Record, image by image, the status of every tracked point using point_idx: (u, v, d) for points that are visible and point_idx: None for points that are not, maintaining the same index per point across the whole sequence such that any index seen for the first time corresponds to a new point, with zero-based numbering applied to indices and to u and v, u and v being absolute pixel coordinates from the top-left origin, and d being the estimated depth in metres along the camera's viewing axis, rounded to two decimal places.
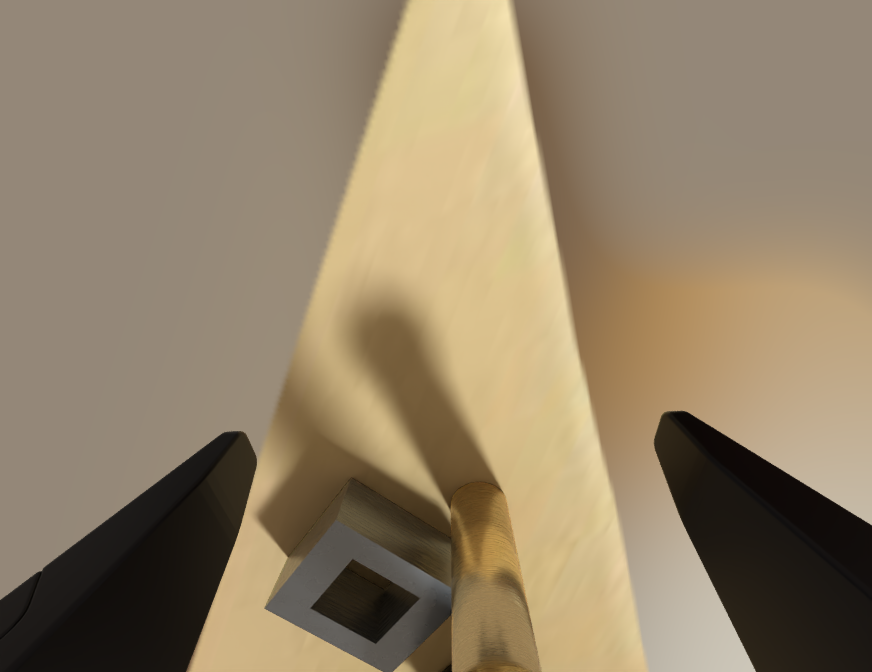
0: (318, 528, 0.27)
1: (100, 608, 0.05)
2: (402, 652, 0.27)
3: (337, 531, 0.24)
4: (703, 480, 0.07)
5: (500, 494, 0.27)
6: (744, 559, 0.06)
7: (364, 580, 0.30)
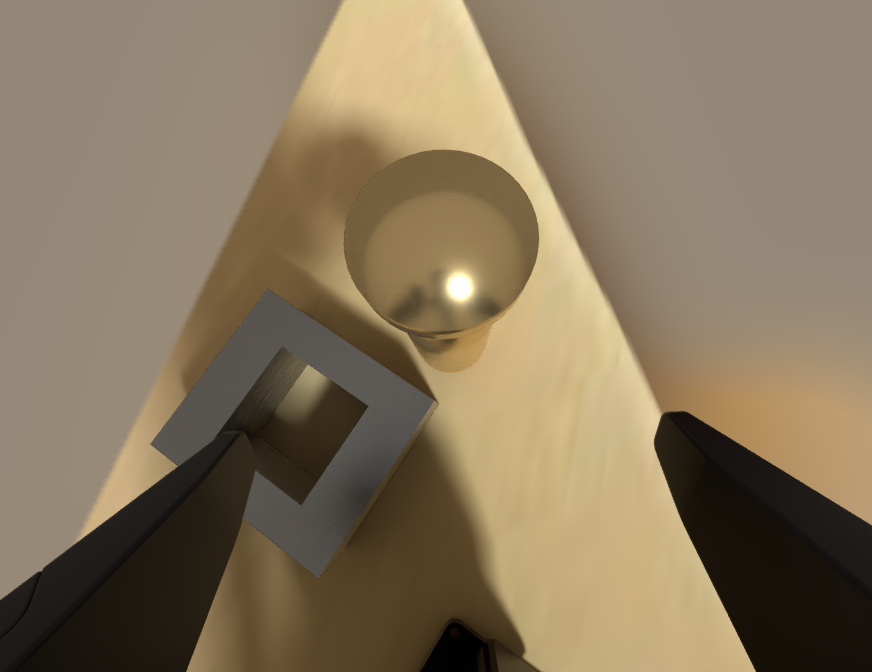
0: None
1: (100, 608, 0.05)
2: (340, 521, 0.17)
3: (267, 305, 0.20)
4: (703, 480, 0.07)
5: None
6: (744, 559, 0.06)
7: (302, 470, 0.22)
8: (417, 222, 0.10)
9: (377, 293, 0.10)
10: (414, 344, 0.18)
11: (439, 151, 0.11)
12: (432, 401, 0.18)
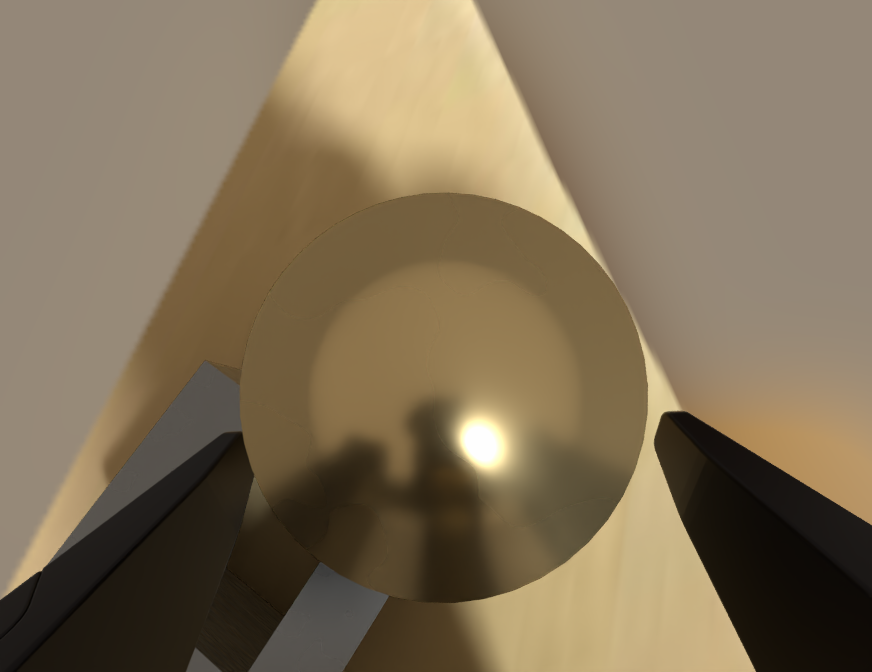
0: None
1: (100, 608, 0.05)
2: None
3: (203, 383, 0.14)
4: (703, 480, 0.07)
5: None
6: (744, 559, 0.06)
7: (256, 595, 0.16)
8: (391, 344, 0.05)
9: (303, 504, 0.05)
10: None
11: (438, 196, 0.05)
12: None
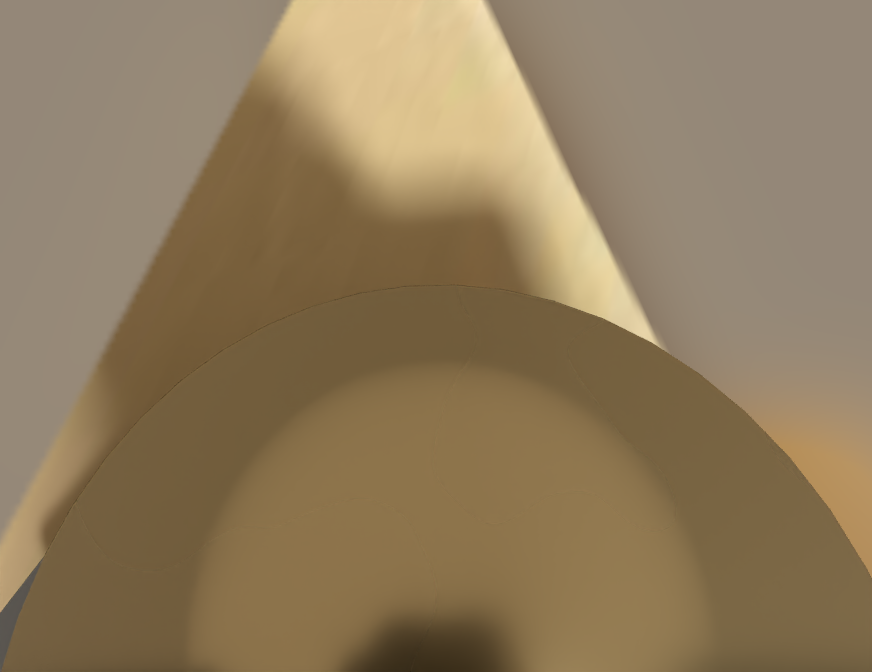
0: None
1: None
2: None
3: None
4: None
5: None
6: None
7: None
8: (327, 644, 0.02)
9: None
10: None
11: (433, 291, 0.03)
12: None
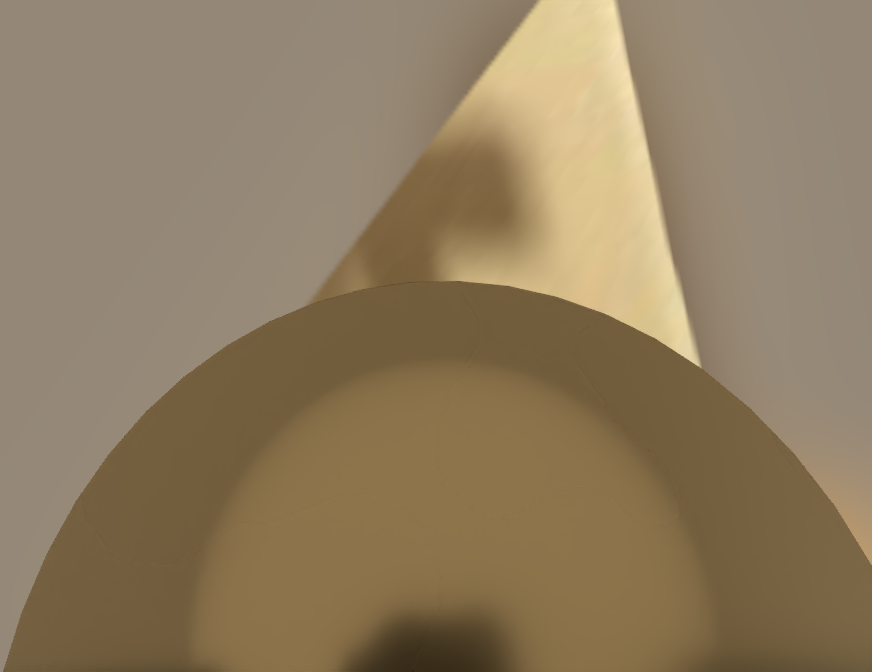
0: None
1: None
2: None
3: None
4: None
5: None
6: None
7: None
8: (331, 639, 0.02)
9: None
10: None
11: (436, 288, 0.03)
12: None
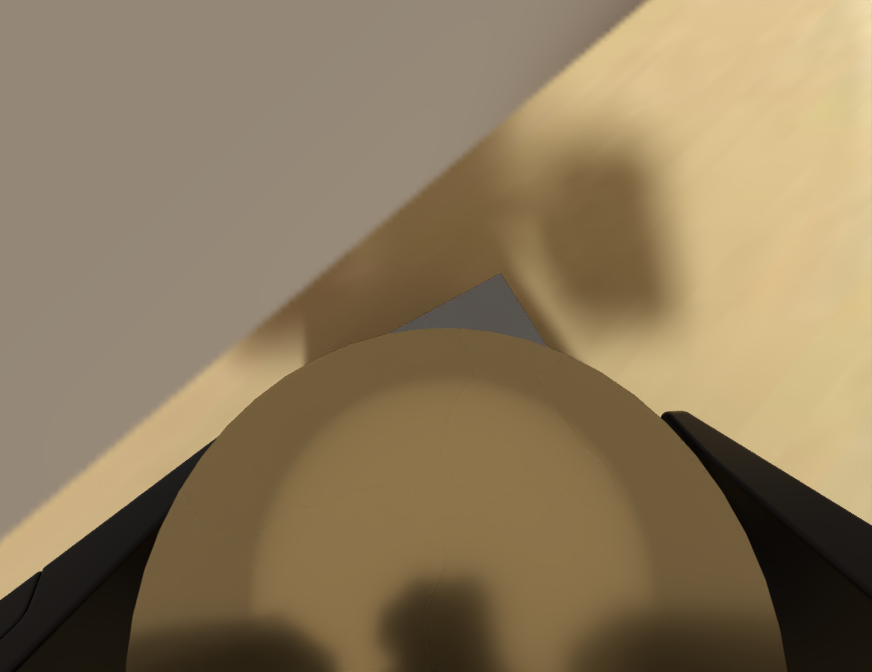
0: None
1: (100, 608, 0.05)
2: None
3: (491, 295, 0.13)
4: None
5: None
6: None
7: None
8: (367, 587, 0.03)
9: None
10: None
11: (441, 333, 0.04)
12: None
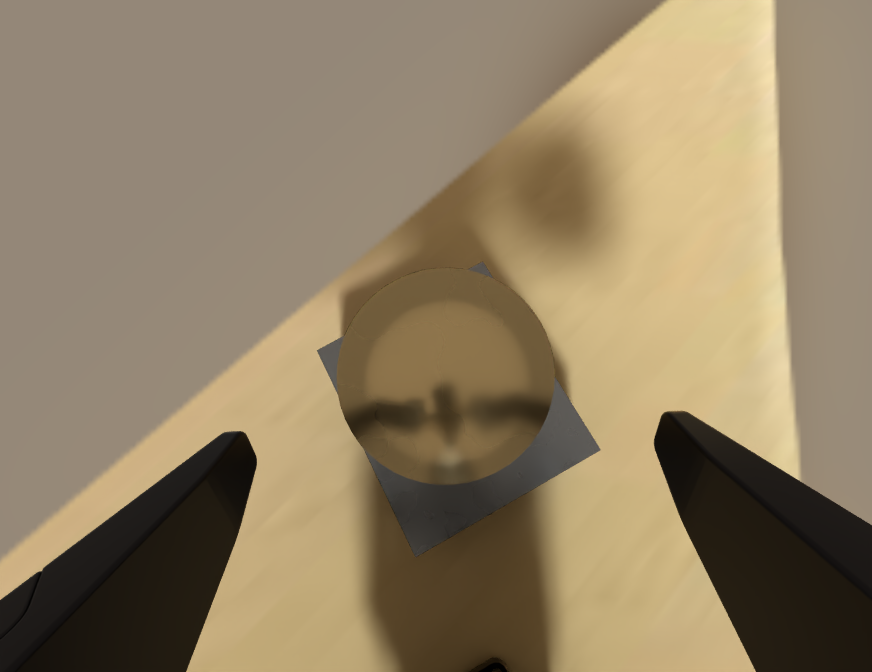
0: None
1: (100, 608, 0.05)
2: (459, 515, 0.17)
3: None
4: (703, 480, 0.07)
5: None
6: (744, 559, 0.06)
7: None
8: (418, 353, 0.09)
9: (373, 437, 0.09)
10: None
11: (443, 269, 0.10)
12: (598, 449, 0.17)
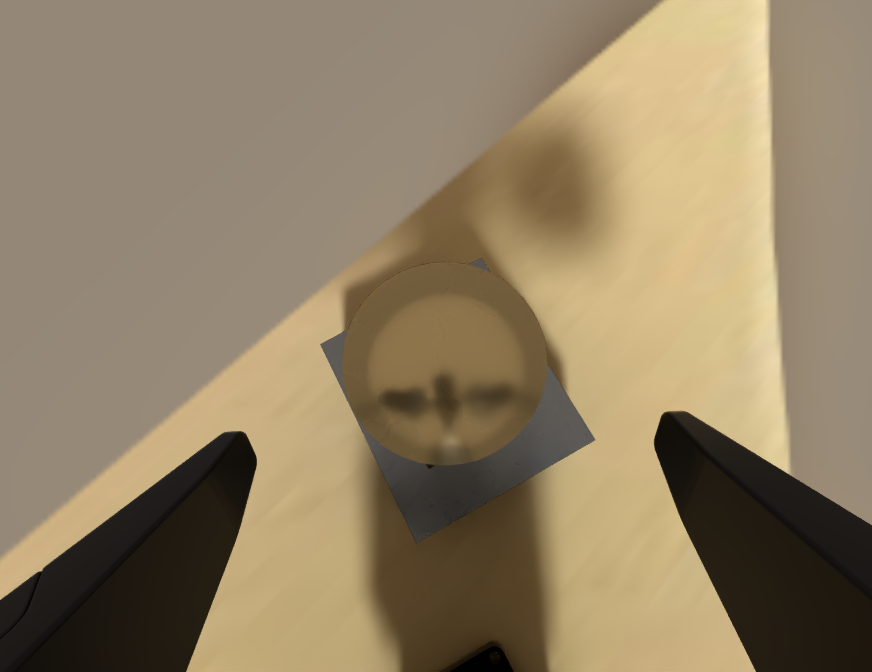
0: None
1: (100, 608, 0.05)
2: (458, 503, 0.17)
3: None
4: (703, 480, 0.07)
5: None
6: (744, 559, 0.06)
7: None
8: (419, 342, 0.10)
9: (377, 421, 0.09)
10: None
11: (442, 264, 0.10)
12: (592, 439, 0.18)
